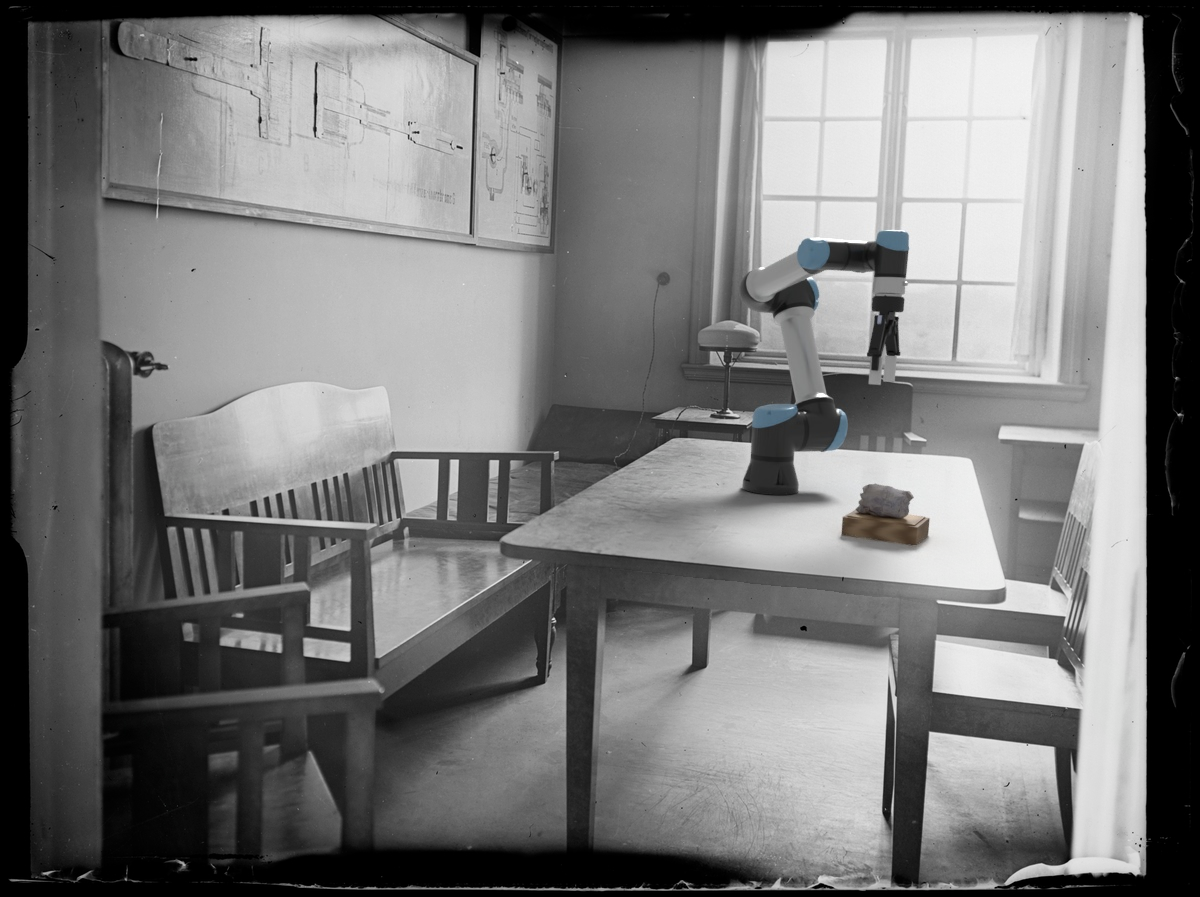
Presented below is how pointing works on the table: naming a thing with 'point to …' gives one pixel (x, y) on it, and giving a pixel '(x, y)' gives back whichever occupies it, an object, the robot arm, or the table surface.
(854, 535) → the walnut slab
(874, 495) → the stone
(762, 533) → the table surface
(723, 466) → the table surface
